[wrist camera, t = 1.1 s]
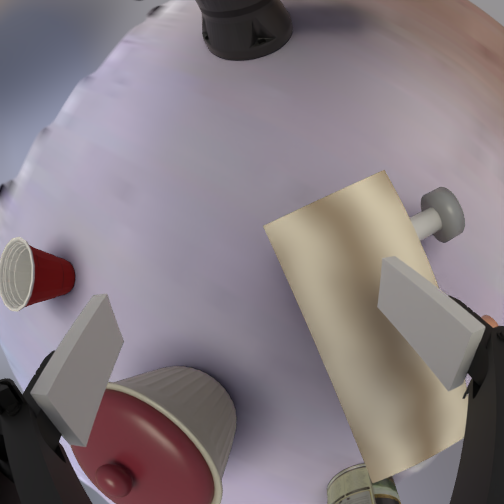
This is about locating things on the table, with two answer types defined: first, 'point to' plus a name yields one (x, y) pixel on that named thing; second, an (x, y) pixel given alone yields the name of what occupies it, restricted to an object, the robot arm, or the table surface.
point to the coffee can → (361, 488)
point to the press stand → (367, 323)
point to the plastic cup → (32, 275)
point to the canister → (161, 439)
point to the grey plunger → (439, 216)
